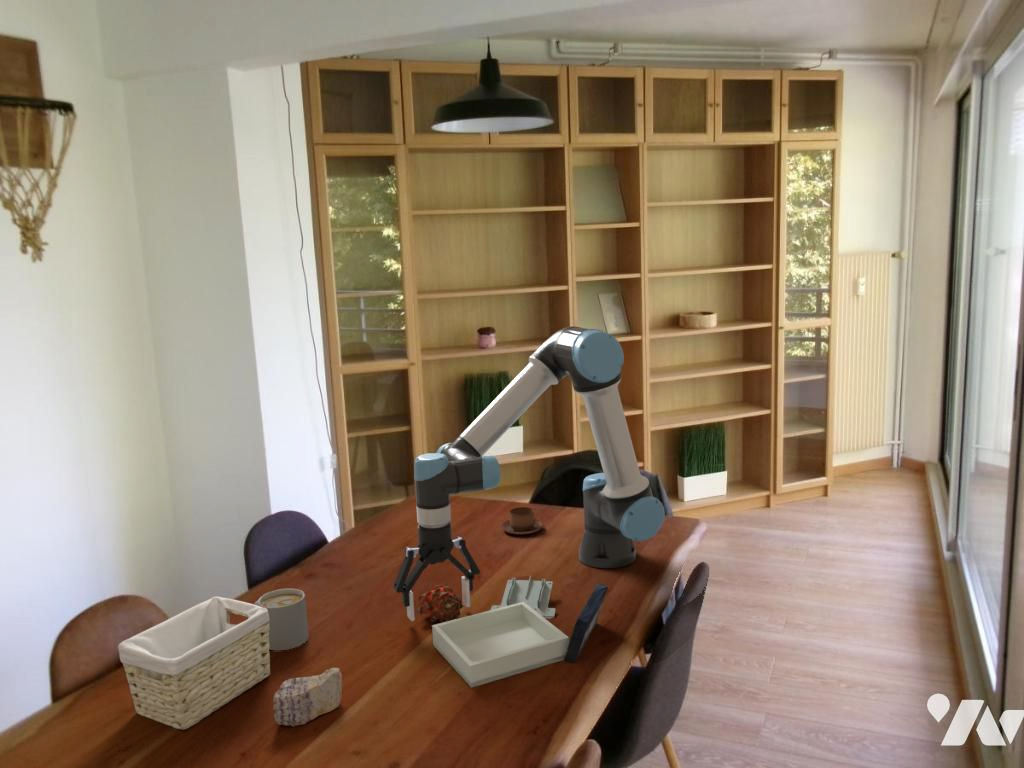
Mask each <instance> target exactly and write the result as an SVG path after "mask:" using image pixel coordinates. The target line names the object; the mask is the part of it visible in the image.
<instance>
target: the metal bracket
mask: <svg viewBox="0 0 1024 768" xmlns="http://www.w3.org/2000/svg"><path fill="white" fill-rule="evenodd" d="M553 584H554V582H553V581H549V580H546V578H542V579H541V580H532V575H529V579H528V580H527V579H526V580H525V579H516V577H512V578H511V579H507V582H506V585H505V588H504V592H503V596H502V600H501V604H499V605H498V604H497V605H494V604H492V605H491V608H490V610H493V609H497V608H501V607H505V606H509V605H513V604H517V603H520V602H525V603H526V604H527V605H528V606H530V607H531V608H532V609H533V610H535V611H536V612H537V613H538V614H540V615H541V616H542V617H544V618H545V619H554V618H555V615H556V611H557V610H556V608H555V607H549V602H550V598H551V592H552V589H553Z"/></svg>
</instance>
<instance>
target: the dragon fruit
mask: <svg viewBox="0 0 1024 768" xmlns="http://www.w3.org/2000/svg"><path fill="white" fill-rule="evenodd" d="M418 601H419V605H422V606H421V607H418V608H417V611H418V614H419V615H429V620H430V621H431V622H433V623H435V622H438V621H440V622H441V623H443V622H447V621H451V620H453V619H458V618H460V617H459V616H461V609H463V607H465V605H464V604H463V601H462V599H461V597H460V596H459V595H458V594H457V592H456V591H455V590H454V589H453V588H452V587H450V586H445V585H442V584H438V585H437V584H436V585H434V586H433V588H432V590H431V591H426V592H425V593H423V594H421V595H420V596H419V598H418Z"/></svg>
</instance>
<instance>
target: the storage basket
mask: <svg viewBox="0 0 1024 768" xmlns="http://www.w3.org/2000/svg"><path fill="white" fill-rule="evenodd" d="M231 613H232V614H234V615H239V616H243V617H247V619H246V620H244V621H242V622H240V623H238V624H234V623H231V621H230V620H231V618H230V614H231ZM268 631H269V614H268V610H267V609H266V608H263V607H260V606H257V605H254V604H253V603H249V602H246V601H241V600H238V599H233V598H228V597H221V596H213V597H211V598H210V599H207V600H205V601H203V602H200V603H198V604H196V605H194V606H192V607H189V608H188V609H185V610H184V611H181V612H180V613H179V614H176V615H174V616H172V617H171V618H168V619H166V620H165V621H163V622H160V623H158V624H156V625H154V626H151V627H150V628H148V629H146V630H143V631H141V632H140V633H137V634H135V635H134V636H131V637H128V638H127V639H125V640H122V642H121V641H120V643H119V644H118V646H117V649H118V654H119V660H120V662H121V663H122V665H123V667H124V672H125V674H126V675H125V676H126V679H127V682H128V684H129V691H130V694H131V697H132V700H133V705H134V710H135V712H136V713H137V714H138V715H140V716H142V717H145V718H148V719H151V720H154V721H155V722H158V723H160V724H163V725H166V726H169V727H172V728H174V729H176V730H177V729H178V730H183V731H184V730H186V729H187V730H188V729H189V728H190V727H192V726H194V725H196V724H198V723H199V722H200V721H201V720H203V719H204V718H207V717H208V716H210V715H211V714H212V713H213V712H215V711H217V710H219V709H220V708H221V707H223V706H224V705H226V704H228V703H230V701H232V700H233V699H235V698H237V697H238V696H241V694H243V693H244V692H246V691H247V690H249V689H251V688H252V687H254V686H255V685H257V684H258V683H259V682H262V681H263V680H264V679H266V678H267V677H269V675H271V663H270V662H271V659H270V657H271V656H270V651H269V632H268Z"/></svg>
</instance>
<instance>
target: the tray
mask: <svg viewBox="0 0 1024 768" xmlns="http://www.w3.org/2000/svg"><path fill="white" fill-rule="evenodd" d="M431 628H432V629H431V630H432V631H431V632H432V633H431V634H432V642H433V643H432V646H433V647H434V648H435V649H436V650H437V651H438V652H439V654H441V656H442V657H443V658H444V659H445V660H446V661H447V662H448V663H449V665H450V666H451V667H452V668H453V669H454V670H455V671H456V673H457V674H458V675H459V676H460V677H461V679H463V680H464V682H466V683H467V685H468V686H469V687H470V688H475V687H478V686H479V687H480V686H482V685H485V684H488V683H491V682H495V681H497V680H501V679H505V678H509V677H512V676H514V675H518V674H521V673H525V672H529V671H532V670H535V669H537V668H541V667H544V666H548V665H551V664H554V663H559V662H561V661H565V660H564V658H565V655H566V652H567V648H568V645H569V642H570V637H569V636H568V635H566V634H565V633H564V632H563V631H561V630H560V629H559V628H557V626H555V625H554V624H552V623H551V622H550V621H549V620H547V618H544V617H542V616H541V615H540V614H538V613H537V612H536V611H535V610H533V609H532V608H531V607H530V606H528V605H527V604H526V603H525V602H520V603H517V604H513V605H509V606H505V607H501V608H497V609H493V610H491V609H490V610H485V611H482V612H478V613H475V614H471V615H467V616H463V617H458V618H454V619H451V620H450V621H447V622H440V623H436V624H433V625H431Z"/></svg>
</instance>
